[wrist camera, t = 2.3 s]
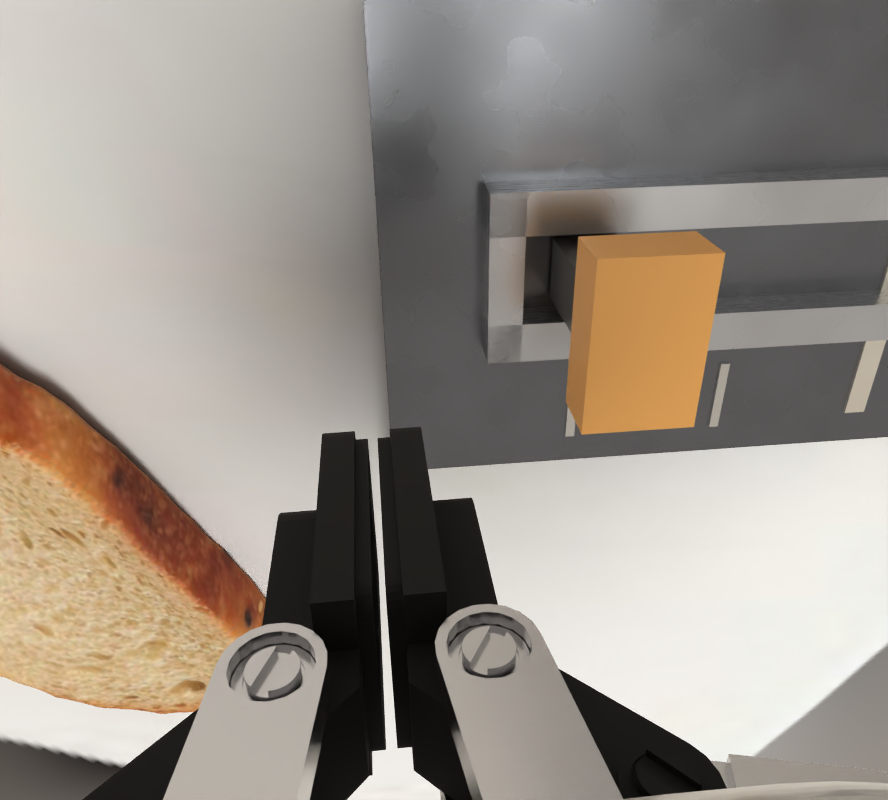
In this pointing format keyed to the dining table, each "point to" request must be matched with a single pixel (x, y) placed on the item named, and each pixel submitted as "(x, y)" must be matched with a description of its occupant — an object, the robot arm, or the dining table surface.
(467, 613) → the robot arm
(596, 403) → the fader tab
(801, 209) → the console
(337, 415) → the dining table surface
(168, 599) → the bread slice
